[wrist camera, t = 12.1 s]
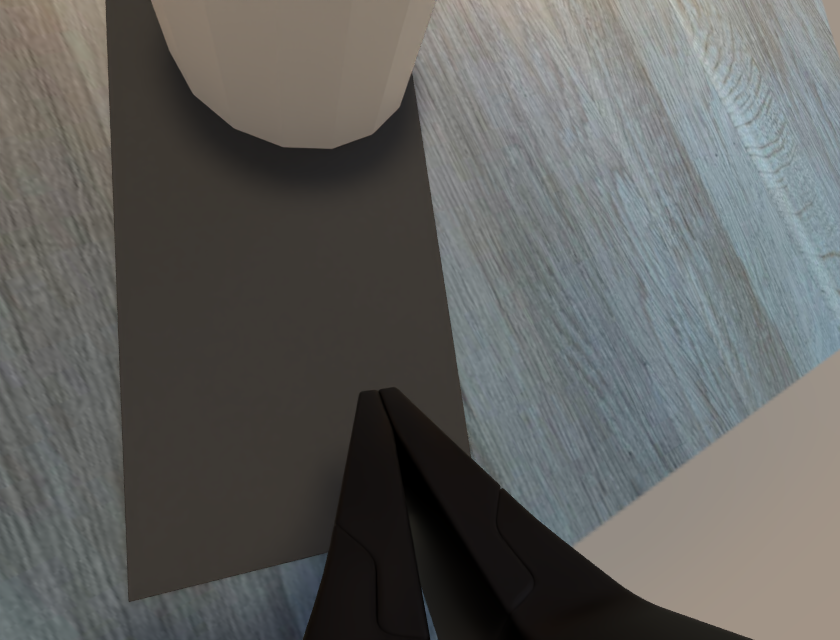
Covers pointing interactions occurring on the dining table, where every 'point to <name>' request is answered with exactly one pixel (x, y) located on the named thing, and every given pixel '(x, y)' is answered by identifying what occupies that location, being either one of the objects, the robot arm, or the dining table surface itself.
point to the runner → (257, 317)
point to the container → (297, 63)
